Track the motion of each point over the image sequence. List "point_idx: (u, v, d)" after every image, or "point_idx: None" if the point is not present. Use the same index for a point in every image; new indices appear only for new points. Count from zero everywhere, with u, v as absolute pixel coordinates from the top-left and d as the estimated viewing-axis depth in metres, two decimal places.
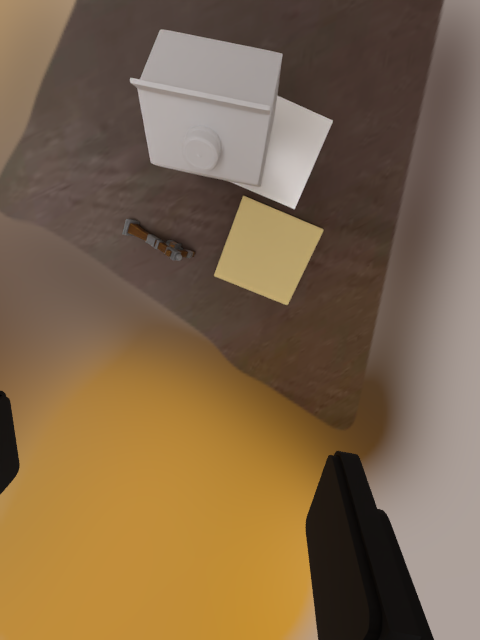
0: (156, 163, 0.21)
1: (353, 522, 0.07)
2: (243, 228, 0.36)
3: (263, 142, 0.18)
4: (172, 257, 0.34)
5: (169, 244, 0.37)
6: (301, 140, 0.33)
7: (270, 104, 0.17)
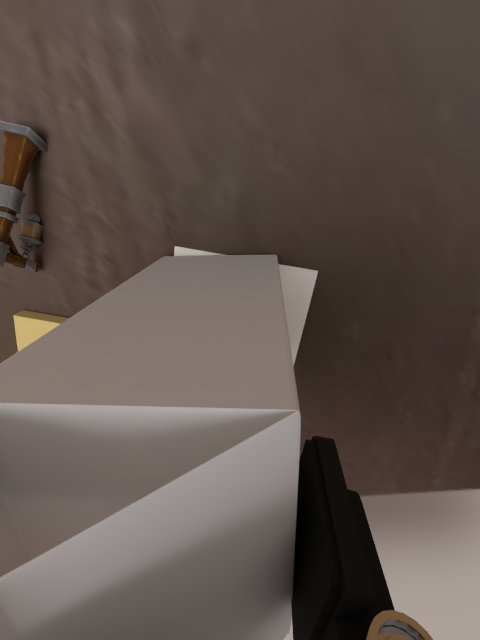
0: None
1: (323, 499, 0.07)
2: None
3: None
4: None
5: (28, 223, 0.19)
6: None
7: None
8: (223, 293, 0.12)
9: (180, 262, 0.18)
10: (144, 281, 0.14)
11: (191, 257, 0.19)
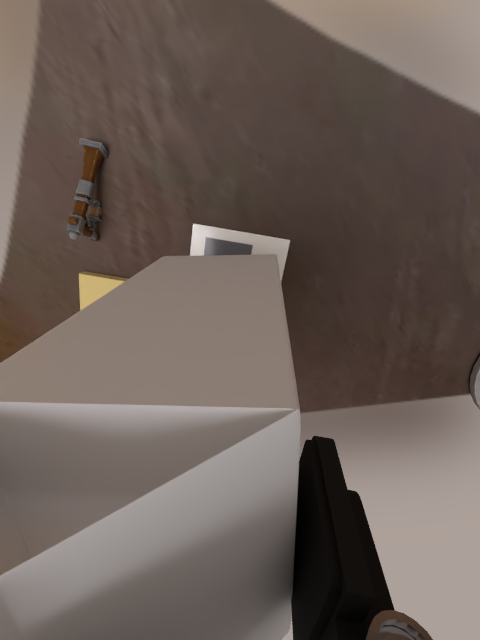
0: None
1: (323, 499, 0.07)
2: None
3: None
4: (69, 227, 0.26)
5: (93, 206, 0.29)
6: None
7: None
8: (223, 292, 0.12)
9: (180, 262, 0.18)
10: (144, 281, 0.14)
11: (191, 257, 0.19)
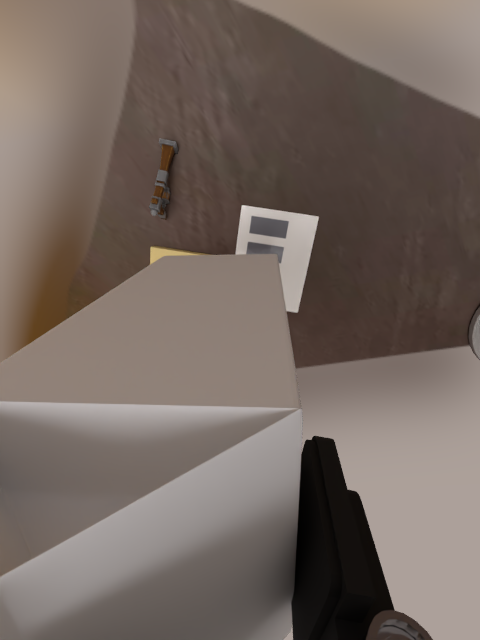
0: None
1: (323, 499, 0.07)
2: None
3: None
4: (151, 206, 0.34)
5: (165, 191, 0.37)
6: None
7: None
8: (224, 291, 0.12)
9: (180, 261, 0.18)
10: (145, 281, 0.14)
11: (191, 256, 0.19)
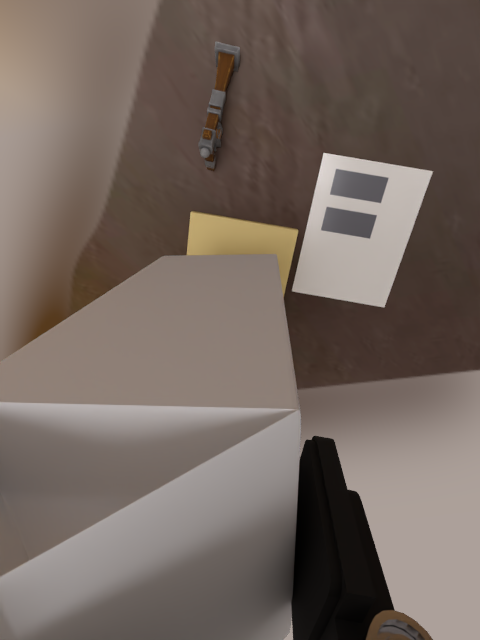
0: None
1: (323, 499, 0.07)
2: (260, 239, 0.28)
3: None
4: (202, 142, 0.23)
5: (216, 128, 0.26)
6: (363, 280, 0.30)
7: None
8: (223, 292, 0.12)
9: (180, 261, 0.18)
10: (144, 281, 0.14)
11: (191, 256, 0.19)
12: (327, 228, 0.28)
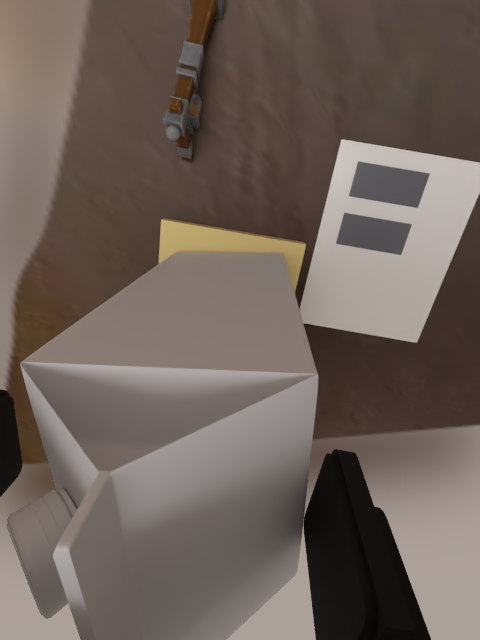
0: (23, 376, 0.08)
1: (350, 519, 0.07)
2: None
3: None
4: (168, 118, 0.16)
5: (193, 102, 0.18)
6: (390, 309, 0.23)
7: None
8: (240, 284, 0.14)
9: (194, 257, 0.19)
10: (165, 272, 0.16)
11: (203, 252, 0.21)
12: (344, 241, 0.21)
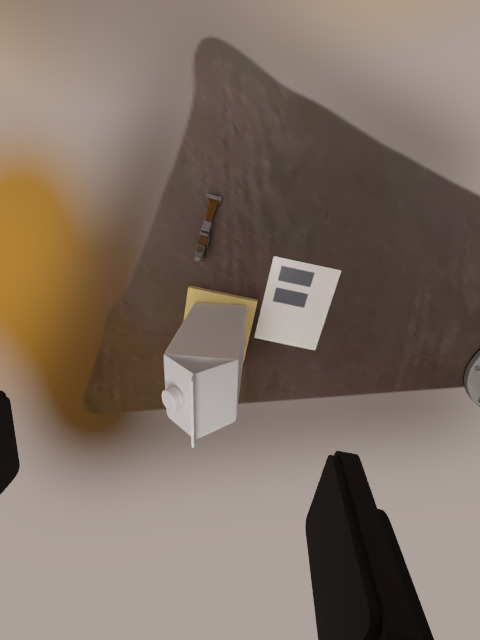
0: (164, 357, 0.30)
1: (353, 522, 0.07)
2: None
3: (184, 429, 0.31)
4: (196, 253, 0.38)
5: None
6: (301, 333, 0.45)
7: (200, 437, 0.30)
8: (223, 327, 0.36)
9: (204, 307, 0.42)
10: (193, 319, 0.38)
11: (208, 304, 0.43)
12: (276, 300, 0.44)
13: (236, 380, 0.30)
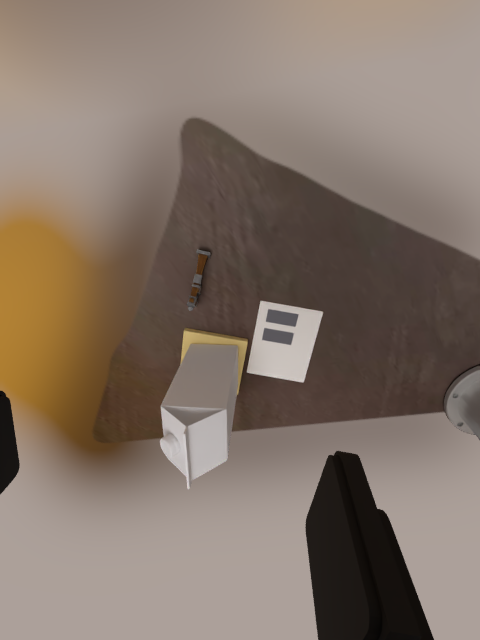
0: (161, 408, 0.34)
1: (353, 522, 0.07)
2: None
3: (181, 471, 0.35)
4: (188, 304, 0.42)
5: None
6: (289, 367, 0.49)
7: (195, 477, 0.34)
8: (214, 372, 0.40)
9: (198, 350, 0.46)
10: (188, 364, 0.42)
11: (202, 345, 0.47)
12: (265, 339, 0.48)
13: (225, 426, 0.34)
